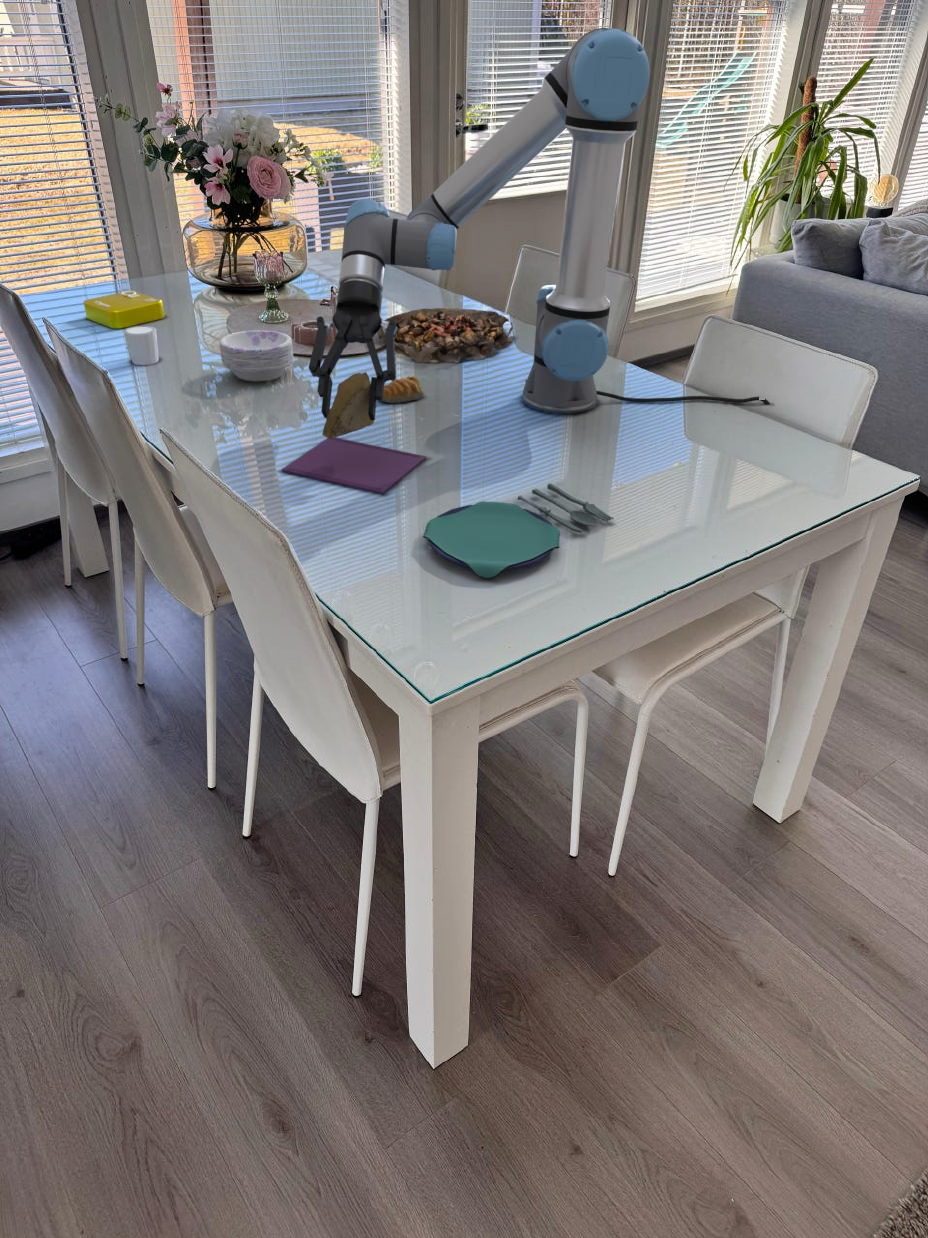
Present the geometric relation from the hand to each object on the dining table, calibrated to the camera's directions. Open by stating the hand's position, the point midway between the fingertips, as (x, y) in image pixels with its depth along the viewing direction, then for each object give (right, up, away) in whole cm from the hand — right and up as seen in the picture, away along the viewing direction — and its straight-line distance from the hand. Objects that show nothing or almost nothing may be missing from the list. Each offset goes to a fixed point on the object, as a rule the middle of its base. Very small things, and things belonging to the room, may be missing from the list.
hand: (348, 415), depth 148 cm
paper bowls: (-25, +19, +46) cm, 56 cm away
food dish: (+15, +34, +69) cm, 78 cm away
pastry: (+6, +12, +36) cm, 39 cm away
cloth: (0, -7, +9) cm, 11 cm away
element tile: (-67, +43, +79) cm, 113 cm away
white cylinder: (-53, +24, +52) cm, 78 cm away
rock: (-1, -1, +5) cm, 5 cm away
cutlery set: (+27, -21, -11) cm, 36 cm away
